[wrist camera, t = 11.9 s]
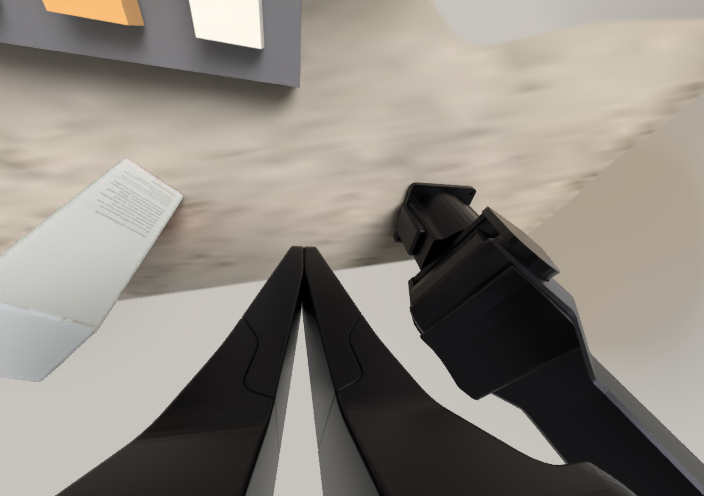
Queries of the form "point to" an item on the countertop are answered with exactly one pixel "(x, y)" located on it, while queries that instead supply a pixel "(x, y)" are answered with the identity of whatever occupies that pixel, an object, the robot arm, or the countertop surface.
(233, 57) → the block
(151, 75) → the countertop surface
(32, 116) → the countertop surface
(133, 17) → the middle paddle
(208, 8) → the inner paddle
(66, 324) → the skincare box
